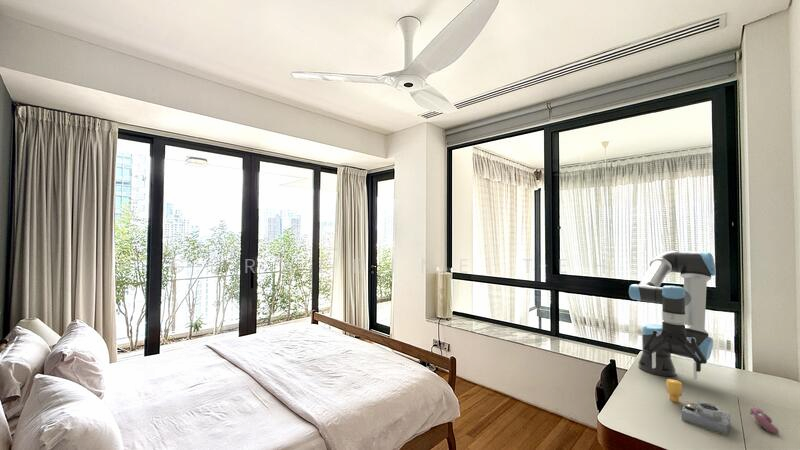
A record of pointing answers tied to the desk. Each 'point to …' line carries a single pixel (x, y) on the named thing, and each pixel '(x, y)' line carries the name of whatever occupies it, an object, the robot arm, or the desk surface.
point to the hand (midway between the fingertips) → (673, 373)
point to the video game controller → (763, 420)
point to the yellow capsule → (674, 389)
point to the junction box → (706, 417)
